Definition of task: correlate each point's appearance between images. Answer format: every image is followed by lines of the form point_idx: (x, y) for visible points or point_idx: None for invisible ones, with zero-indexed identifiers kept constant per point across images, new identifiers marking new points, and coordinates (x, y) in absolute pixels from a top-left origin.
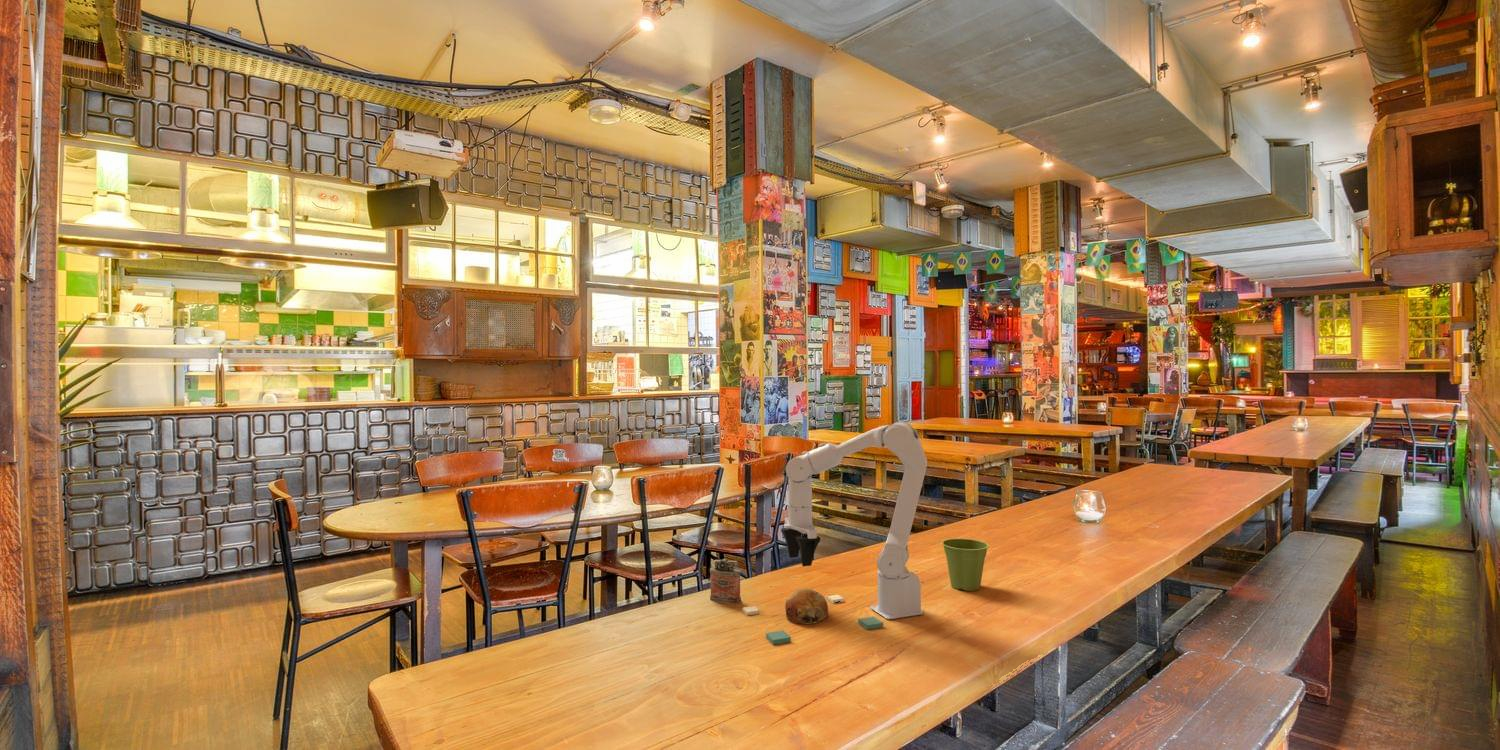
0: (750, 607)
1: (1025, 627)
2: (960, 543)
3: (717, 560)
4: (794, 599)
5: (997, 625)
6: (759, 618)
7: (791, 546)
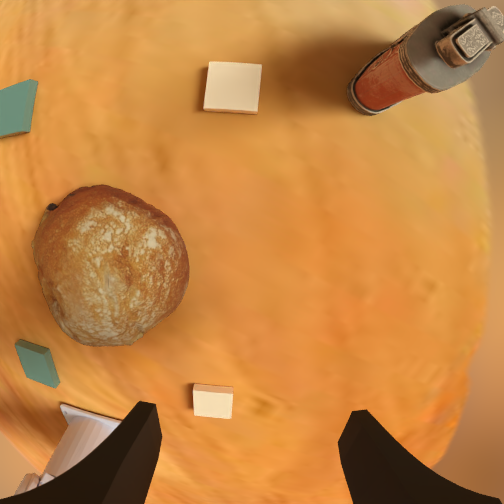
0: (249, 90)
1: None
2: None
3: (499, 18)
4: (62, 222)
5: None
6: (162, 97)
7: (375, 471)
